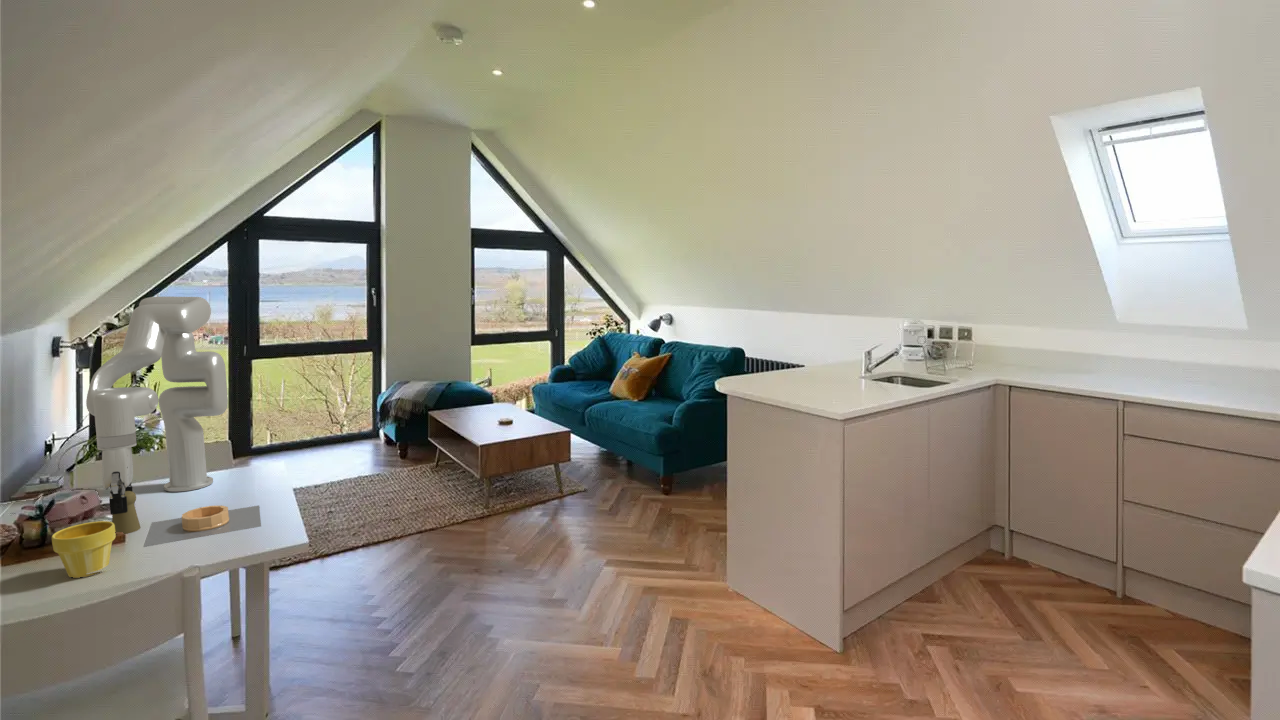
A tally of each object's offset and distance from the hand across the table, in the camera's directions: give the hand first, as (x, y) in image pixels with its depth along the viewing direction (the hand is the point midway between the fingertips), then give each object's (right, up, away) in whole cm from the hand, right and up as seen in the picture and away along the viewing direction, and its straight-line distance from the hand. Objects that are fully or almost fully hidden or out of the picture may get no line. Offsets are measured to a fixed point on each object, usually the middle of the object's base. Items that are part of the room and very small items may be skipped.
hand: (122, 507), depth 155 cm
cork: (0, -7, +1) cm, 7 cm away
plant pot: (+8, -10, -19) cm, 23 cm away
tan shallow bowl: (+17, -6, +6) cm, 19 cm away
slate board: (+17, -7, +6) cm, 19 cm away
